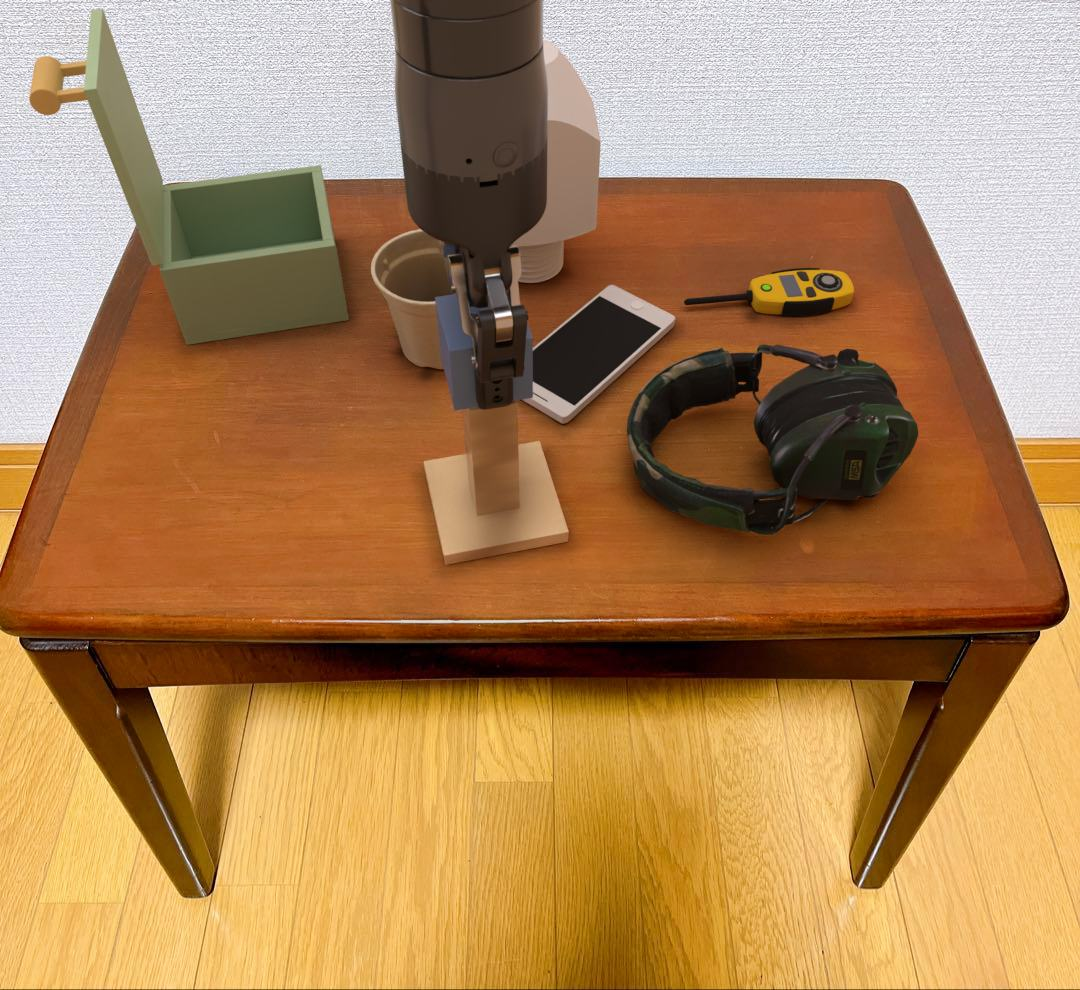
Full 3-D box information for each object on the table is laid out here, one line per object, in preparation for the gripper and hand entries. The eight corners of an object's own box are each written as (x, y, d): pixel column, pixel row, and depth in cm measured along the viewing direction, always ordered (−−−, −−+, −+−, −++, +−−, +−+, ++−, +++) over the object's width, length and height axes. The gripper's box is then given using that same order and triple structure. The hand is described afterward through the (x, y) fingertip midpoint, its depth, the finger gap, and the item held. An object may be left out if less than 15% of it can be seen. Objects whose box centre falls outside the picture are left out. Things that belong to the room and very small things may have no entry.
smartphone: (676, 324, 87) (677, 316, 87) (564, 425, 80) (564, 417, 79) (610, 290, 90) (611, 282, 89) (496, 385, 83) (496, 377, 82)
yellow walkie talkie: (862, 295, 87) (691, 309, 86) (856, 312, 88) (689, 327, 87) (844, 260, 90) (679, 274, 89) (839, 278, 92) (676, 291, 90)
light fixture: (593, 288, 91) (603, 75, 75) (491, 304, 89) (480, 90, 74) (567, 226, 96) (572, 17, 81) (471, 240, 95) (457, 30, 79)
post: (445, 565, 71) (430, 452, 62) (424, 471, 77) (408, 354, 68) (568, 541, 73) (572, 427, 63) (539, 450, 78) (539, 333, 69)
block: (454, 411, 63) (449, 351, 59) (440, 357, 66) (434, 296, 62) (532, 398, 64) (533, 338, 60) (515, 345, 67) (514, 285, 63)
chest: (335, 239, 95) (320, 164, 89) (349, 320, 88) (334, 245, 82) (184, 260, 93) (159, 185, 87) (186, 345, 86) (159, 270, 80)
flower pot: (516, 333, 87) (514, 251, 80) (454, 401, 82) (446, 318, 75) (426, 296, 90) (417, 214, 83) (361, 359, 85) (346, 276, 78)
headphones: (853, 315, 80) (605, 374, 80) (919, 303, 66) (622, 374, 66) (885, 480, 81) (642, 537, 81) (956, 500, 68) (665, 569, 68)
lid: (102, 8, 75) (26, 17, 75) (96, 88, 68) (11, 99, 67) (163, 180, 87) (97, 189, 86) (163, 264, 79) (91, 275, 79)
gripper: (380, 68, 55) (410, 310, 68) (422, 222, 46) (447, 466, 59) (515, 52, 56) (518, 294, 69) (581, 201, 47) (571, 445, 61)
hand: (485, 372), depth 64 cm, fingers closed on block, 5 cm apart
